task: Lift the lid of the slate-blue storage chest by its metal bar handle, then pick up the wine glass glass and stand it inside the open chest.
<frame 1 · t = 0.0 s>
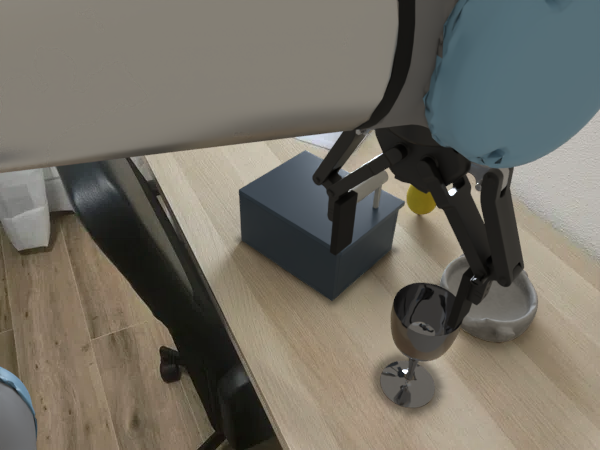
hand: (395, 281, 53), 24 cm above the table, tool pointing down, fingers open, 13 cm apart
chest: (316, 245, 92), on the table
lid: (322, 179, 83), point 14 cm above the table, hinge at 0.0°
wine glass: (407, 384, 72), on the table
dish: (482, 307, 83), on the table
lemon: (418, 214, 99), on the table
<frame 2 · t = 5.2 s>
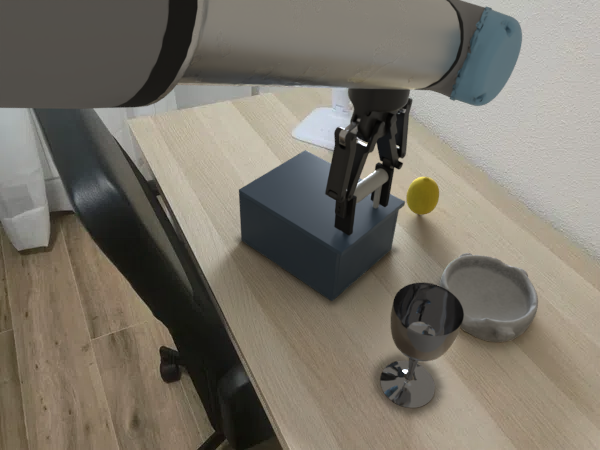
hand: (361, 215, 81), 11 cm above the table, tool pointing down, fingers closed on lid, 8 cm apart
lid: (322, 179, 83), point 14 cm above the table, hinge at 0.0°, touching gripper
everything else where it was.
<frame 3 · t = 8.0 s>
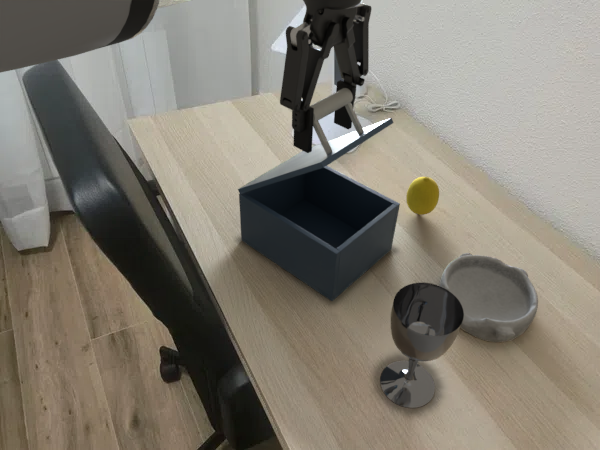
hand: (323, 136, 78), 21 cm above the table, tool pointing down, fingers closed on lid, 8 cm apart
lid: (302, 136, 81), point 19 cm above the table, hinge at 38.5°, touching gripper
everything else where it was.
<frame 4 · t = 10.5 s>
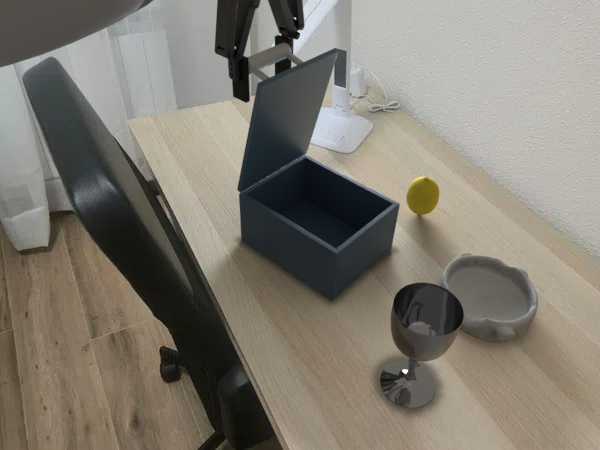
hand: (262, 88, 82), 24 cm above the table, tool pointing down, fingers closed on lid, 8 cm apart
lid: (270, 110, 83), point 21 cm above the table, hinge at 75.6°, touching gripper
everything else where it was.
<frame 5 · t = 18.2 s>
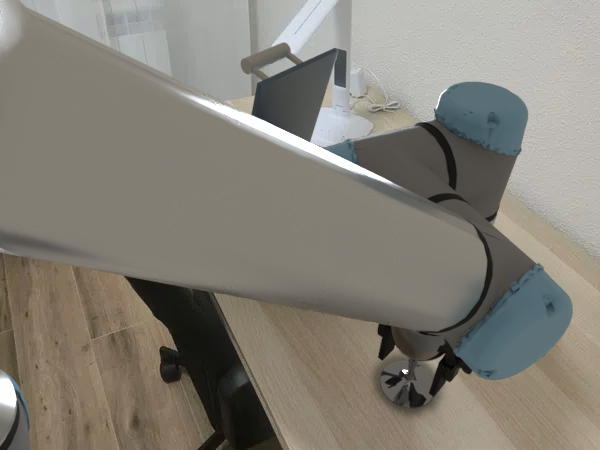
hand: (410, 369, 70), 3 cm above the table, tool pointing down, fingers closed on wine glass, 7 cm apart
lid: (270, 110, 83), point 21 cm above the table, hinge at 75.8°
wine glass: (407, 384, 72), on the table, touching gripper
everything else where it was.
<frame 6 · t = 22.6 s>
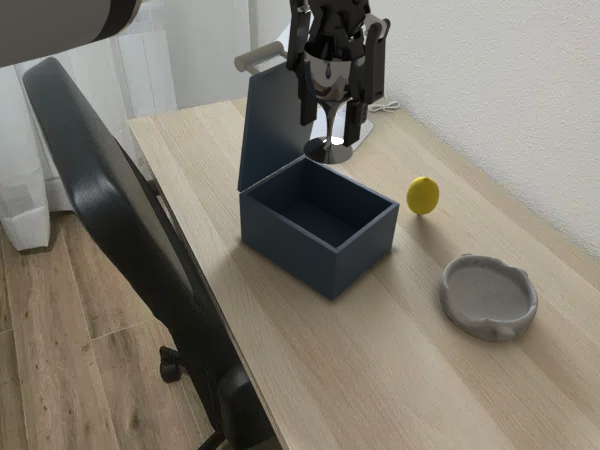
hand: (329, 131, 76), 23 cm above the table, tool pointing down, fingers closed on wine glass, 7 cm apart
lid: (266, 109, 84), point 21 cm above the table, hinge at 79.8°
wine glass: (328, 151, 78), point 19 cm above the table, touching gripper
everything else where it was.
when the fingers open (4 cm above the table, at t = 27.1 s): wine glass stays where it is, resting on chest.
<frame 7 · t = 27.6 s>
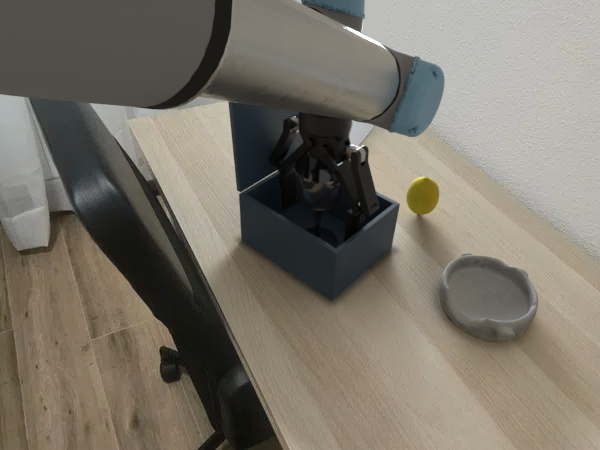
hand: (318, 222, 88), 5 cm above the table, tool pointing down, fingers open, 12 cm apart
lid: (255, 107, 85), point 20 cm above the table, hinge at 93.1°, touching gripper, hand
wine glass: (316, 242, 91), point 1 cm above the table, touching chest
everything else where it was.
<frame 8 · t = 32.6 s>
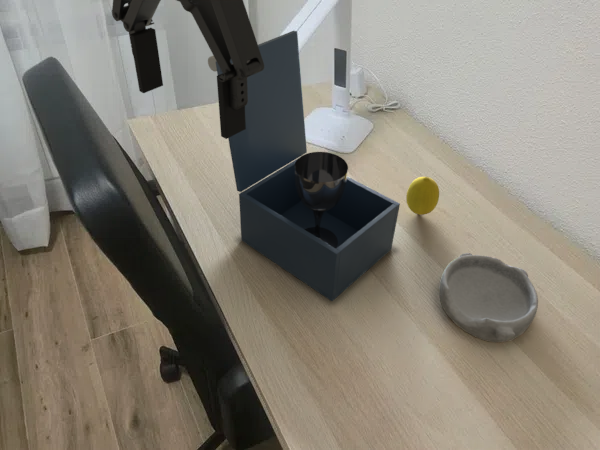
hand: (190, 109, 59), 33 cm above the table, tool pointing down, fingers open, 13 cm apart
lid: (251, 107, 86), point 20 cm above the table, hinge at 98.2°
everything else where it was.
at the end: lid at +98° (first picture: +0°); wine glass inside the target area in the chest (0.1 cm from its centre), point 0.6 cm above the chest's base; wine glass tilted 0° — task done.
